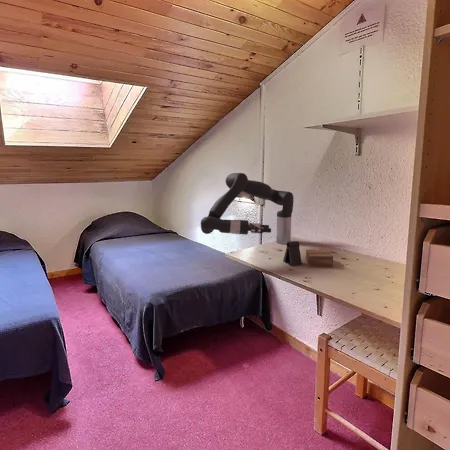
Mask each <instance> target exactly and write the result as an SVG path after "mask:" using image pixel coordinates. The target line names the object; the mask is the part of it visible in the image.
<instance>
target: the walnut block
mask: <svg viewBox="0 0 450 450" xmlns="http://www.w3.org/2000/svg"><path fill="white" fill-rule="evenodd" d="M305 262H306V264H307V265H308V267H309V268H333V267H334V256H333V254H332V253H331V251H330V250H329V249H305Z"/></svg>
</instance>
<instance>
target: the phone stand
mask: <svg viewBox="0 0 450 450" xmlns="http://www.w3.org/2000/svg"><path fill="white" fill-rule="evenodd" d="M282 262H283V263H285V264H287V265H289V266H290V267H298V266H302V265H303V262H302V257H301V250H300V242H299V240H295V241H293V240H292V241H291V242H287V244H286V249H285V251H284V256H283V260H282Z"/></svg>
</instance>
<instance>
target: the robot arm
mask: <svg viewBox="0 0 450 450" xmlns="http://www.w3.org/2000/svg"><path fill="white" fill-rule="evenodd" d="M225 185H226V186H227V187H228V188H229V189H228V190H227V191H226V192H225V193H224V194H223V195H221V196H219V198H218V199H217V200H216V201H215V202H214V203H213V205H212V206H211V208H210V209H209V211H208V215H207V216H205V217H203V218H201V220H200V230H201V232H202V233H204V234H205V235H210V234H212V233H213V232H214V230H216V231H219V232H220V233H222V234H233V235H242V236H243V235H244V236H245V235H249V232H250V233H252V234H253V233H254V234H261V235H262V234H263V233H269V234H270V233H271V232H272V228H271V227H270V225H269V224H262V223H255V222H254V223H253V222H249V220H246V219H222V216H223V215H224V214H225V212H226V211H227V209H228V207H230V205H231V204H232V202H234V200H235V199H236V198H238V196H239V195H240V194H241V193H245V194H248V195H250V196H253V197H256V198H258V199H261V200H266V201H270V202H272V203H274V204H276V205H277V206H282V209H281V210H278V211H276V238H275V239H276V243H277V244H280V245H287V242H292V240H291V239H292V214H293V210H294V199H295V198H294V193H292V192H290V191H286V190H278V189H277V190H276V189H273V188H272V187H271V186H270V185H269V184H267V183H264V182H262V181H259V180H252V179H248V176H247V174H245V173H243V172H233V173H230V174H228V175H227V176H226V178H225Z"/></svg>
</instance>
